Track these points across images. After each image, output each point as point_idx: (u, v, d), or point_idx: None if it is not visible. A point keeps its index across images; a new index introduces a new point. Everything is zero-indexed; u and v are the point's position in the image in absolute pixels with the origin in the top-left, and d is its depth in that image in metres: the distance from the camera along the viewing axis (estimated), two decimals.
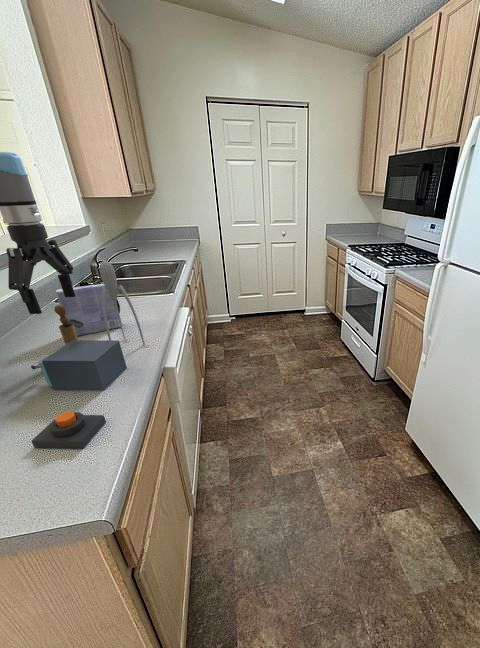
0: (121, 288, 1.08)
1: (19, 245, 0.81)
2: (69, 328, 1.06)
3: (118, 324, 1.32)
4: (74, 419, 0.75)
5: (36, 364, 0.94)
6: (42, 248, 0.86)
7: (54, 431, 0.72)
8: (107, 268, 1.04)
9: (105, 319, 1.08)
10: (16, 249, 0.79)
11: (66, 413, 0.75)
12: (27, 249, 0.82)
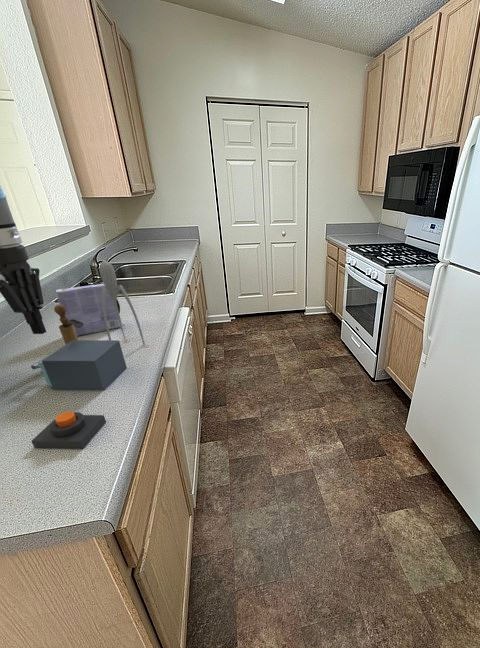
0: (121, 288, 1.08)
1: None
2: (69, 328, 1.06)
3: (118, 324, 1.32)
4: (74, 419, 0.75)
5: (36, 364, 0.94)
6: (23, 268, 0.85)
7: (54, 431, 0.72)
8: (107, 268, 1.04)
9: (105, 319, 1.08)
10: (0, 282, 0.79)
11: (66, 413, 0.75)
12: (7, 272, 0.81)
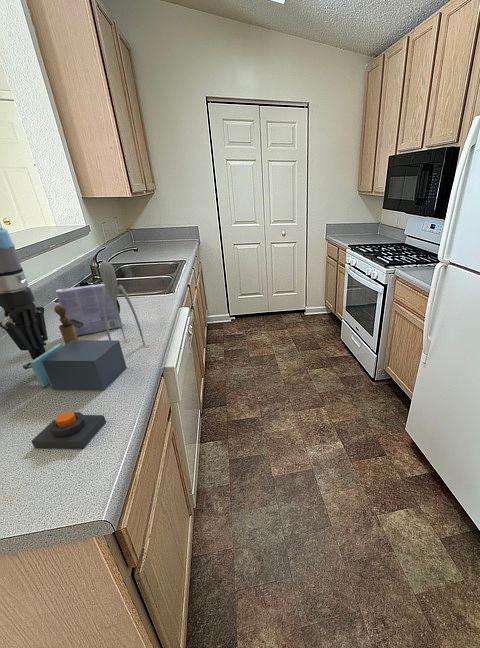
0: (121, 288, 1.08)
1: (6, 311, 0.85)
2: (69, 328, 1.06)
3: (118, 324, 1.32)
4: (74, 419, 0.75)
5: (28, 364, 0.94)
6: (29, 309, 0.90)
7: (54, 431, 0.72)
8: (107, 268, 1.04)
9: (105, 319, 1.08)
10: (8, 324, 0.85)
11: (66, 413, 0.75)
12: (14, 315, 0.86)
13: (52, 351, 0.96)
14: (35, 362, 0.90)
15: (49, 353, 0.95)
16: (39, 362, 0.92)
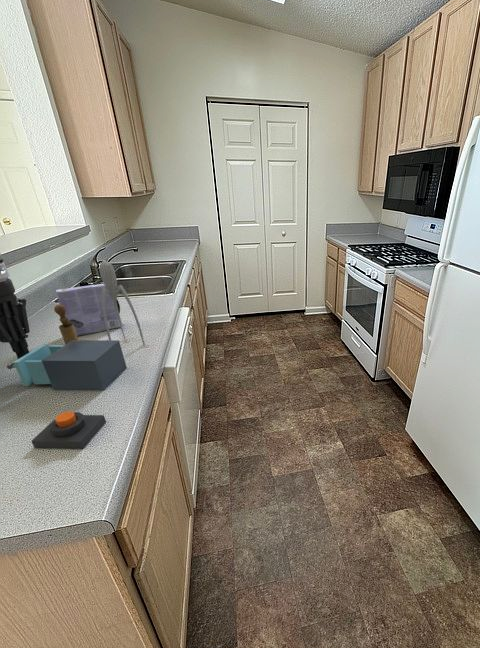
0: (121, 288, 1.08)
1: None
2: (69, 328, 1.06)
3: (118, 324, 1.32)
4: (74, 419, 0.75)
5: (12, 364, 0.94)
6: (10, 300, 0.89)
7: (54, 431, 0.72)
8: (107, 268, 1.04)
9: (105, 319, 1.08)
10: None
11: (66, 413, 0.75)
12: None
13: (36, 351, 0.96)
14: (18, 362, 0.91)
15: (33, 353, 0.95)
16: (23, 362, 0.92)
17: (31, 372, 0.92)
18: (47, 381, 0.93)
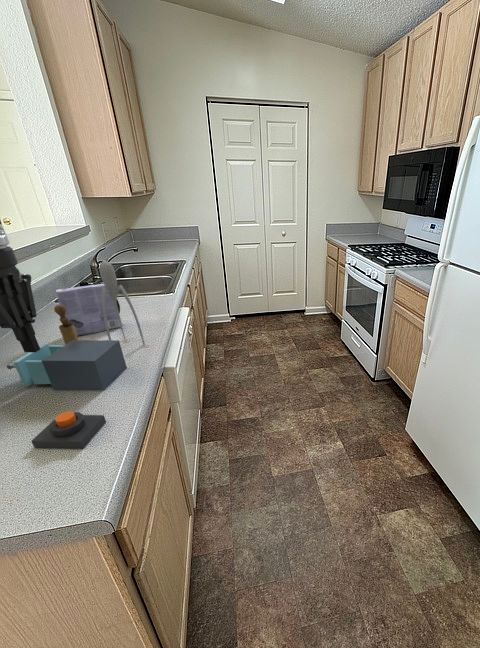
0: (121, 288, 1.08)
1: None
2: (69, 328, 1.06)
3: (118, 324, 1.32)
4: (74, 419, 0.75)
5: (12, 364, 0.94)
6: (11, 275, 0.71)
7: (54, 431, 0.72)
8: (107, 268, 1.04)
9: (105, 319, 1.08)
10: None
11: (66, 413, 0.75)
12: None
13: None
14: (18, 362, 0.91)
15: (33, 353, 0.95)
16: (23, 362, 0.92)
17: (31, 372, 0.92)
18: (47, 381, 0.93)
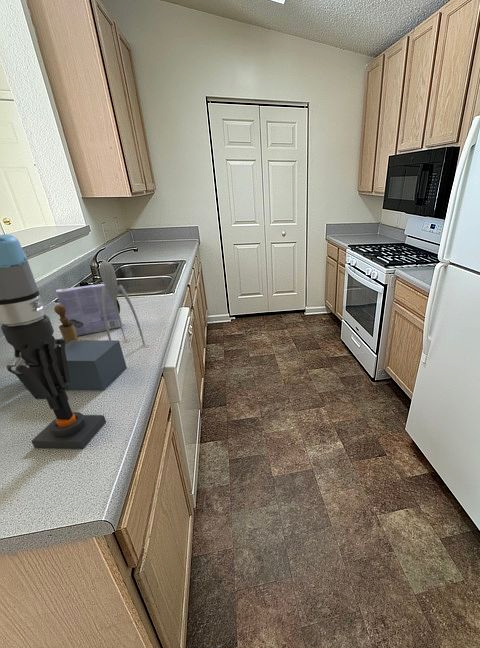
0: (121, 288, 1.08)
1: (17, 349, 0.62)
2: (69, 328, 1.06)
3: (118, 324, 1.32)
4: (75, 420, 0.75)
5: (12, 364, 0.94)
6: (47, 344, 0.67)
7: (54, 431, 0.72)
8: (107, 268, 1.04)
9: (105, 319, 1.08)
10: (20, 369, 0.62)
11: None
12: (28, 354, 0.63)
13: None
14: None
15: None
16: None
17: None
18: None
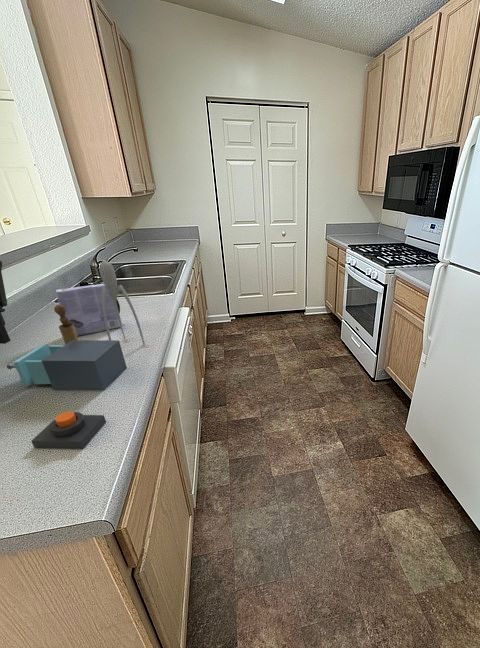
0: (121, 288, 1.08)
1: None
2: (69, 328, 1.06)
3: (118, 324, 1.32)
4: (74, 419, 0.75)
5: (12, 364, 0.94)
6: None
7: (54, 431, 0.72)
8: (107, 268, 1.04)
9: (105, 319, 1.08)
10: None
11: (66, 413, 0.75)
12: None
13: (36, 351, 0.96)
14: (18, 362, 0.91)
15: (33, 353, 0.95)
16: (23, 362, 0.92)
17: (31, 372, 0.92)
18: (47, 381, 0.93)
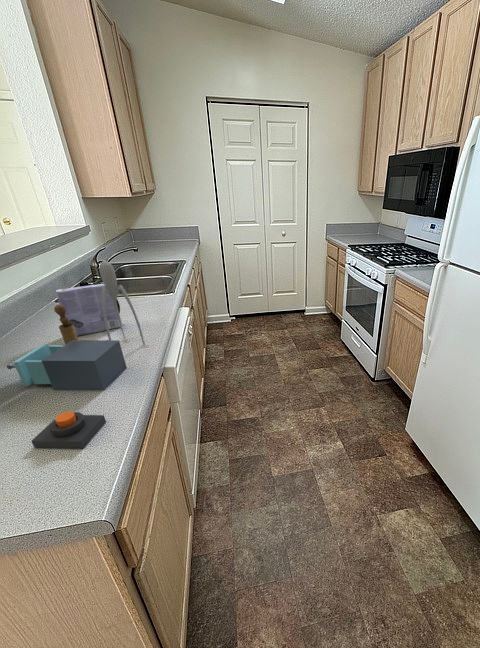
0: (121, 288, 1.08)
1: None
2: (69, 328, 1.06)
3: (118, 324, 1.32)
4: (74, 419, 0.75)
5: (12, 364, 0.94)
6: None
7: (54, 431, 0.72)
8: (107, 268, 1.04)
9: (105, 319, 1.08)
10: None
11: (66, 413, 0.75)
12: None
13: (36, 351, 0.96)
14: (18, 362, 0.91)
15: (33, 353, 0.95)
16: (23, 362, 0.92)
17: (31, 372, 0.92)
18: (47, 381, 0.93)
